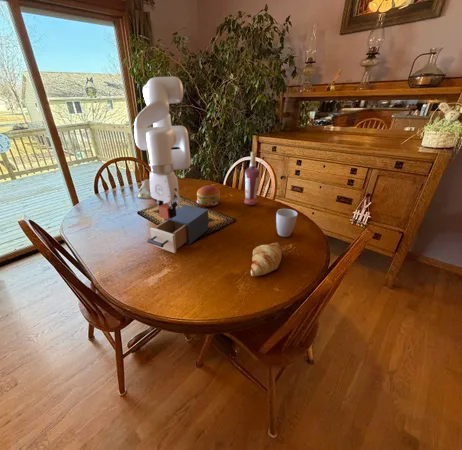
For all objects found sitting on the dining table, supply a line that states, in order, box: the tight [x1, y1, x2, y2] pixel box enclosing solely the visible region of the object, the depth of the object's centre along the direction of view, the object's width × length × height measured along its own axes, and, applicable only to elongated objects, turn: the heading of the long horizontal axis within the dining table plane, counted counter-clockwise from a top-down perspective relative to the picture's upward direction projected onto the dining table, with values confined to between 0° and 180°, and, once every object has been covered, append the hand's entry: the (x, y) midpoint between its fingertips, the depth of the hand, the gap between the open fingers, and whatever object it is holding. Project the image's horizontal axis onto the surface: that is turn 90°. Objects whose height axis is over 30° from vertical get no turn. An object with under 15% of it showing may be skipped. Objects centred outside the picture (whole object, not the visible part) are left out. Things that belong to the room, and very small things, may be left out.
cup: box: [275, 208, 298, 238], centre depth 99 cm, size 8×8×10 cm
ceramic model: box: [137, 178, 153, 199], centre depth 147 cm, size 14×11×10 cm
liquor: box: [243, 151, 260, 207], centre depth 123 cm, size 7×7×28 cm
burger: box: [196, 185, 221, 208], centre depth 131 cm, size 13×14×10 cm
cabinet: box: [163, 204, 210, 245], centre depth 103 cm, size 15×13×10 cm
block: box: [157, 203, 170, 219], centre depth 89 cm, size 4×4×4 cm
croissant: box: [250, 241, 283, 277], centre depth 83 cm, size 21×10×8 cm, turn 143°
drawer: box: [146, 219, 188, 254], centre depth 94 cm, size 18×11×8 cm, turn 147°
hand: (167, 215), depth 90 cm, fingers closed on block, 4 cm apart
